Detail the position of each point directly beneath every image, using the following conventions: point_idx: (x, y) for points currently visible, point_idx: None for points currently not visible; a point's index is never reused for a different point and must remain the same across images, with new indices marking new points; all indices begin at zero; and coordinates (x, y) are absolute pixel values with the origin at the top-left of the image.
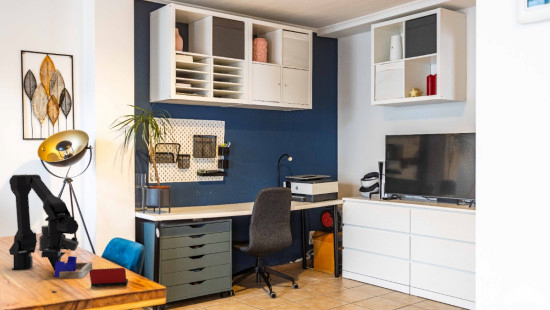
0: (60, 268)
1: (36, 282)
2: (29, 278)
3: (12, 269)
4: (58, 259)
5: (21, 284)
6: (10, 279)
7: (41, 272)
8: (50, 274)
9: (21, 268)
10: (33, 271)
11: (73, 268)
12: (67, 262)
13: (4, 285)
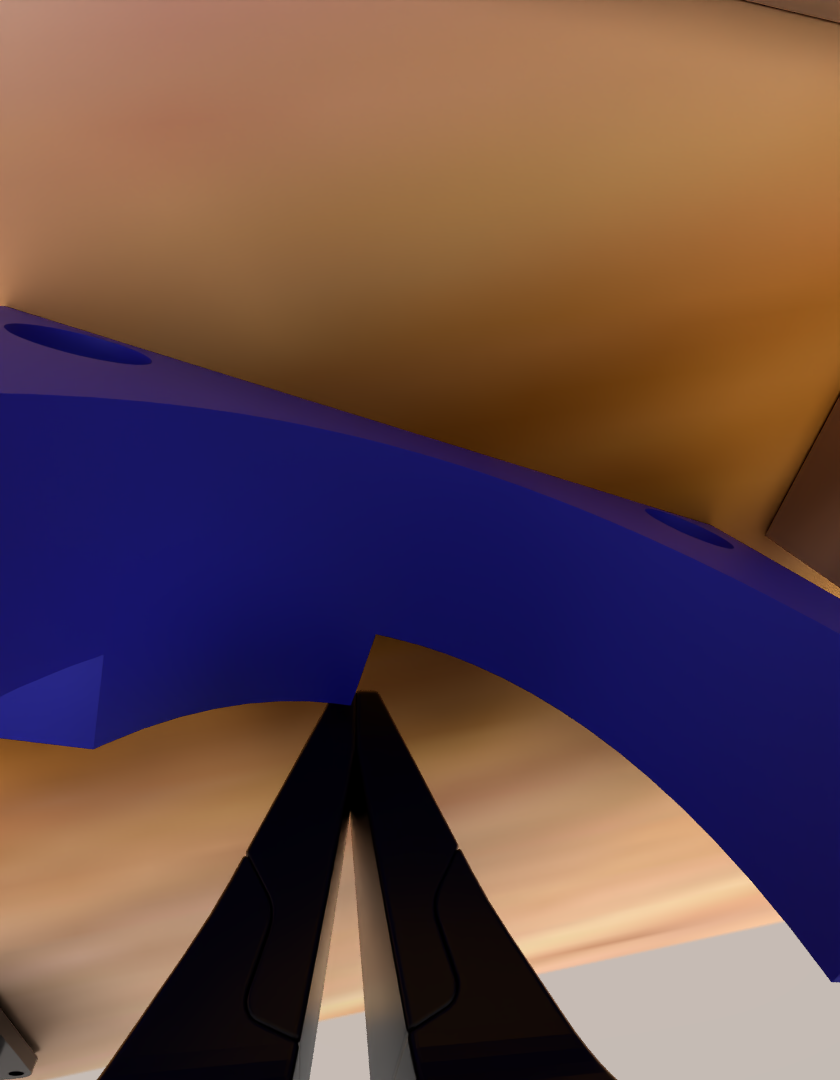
0: None
1: None
2: (547, 861)
3: (34, 1061)
4: (565, 1025)
5: None
6: None
7: (177, 849)
8: None
9: (5, 1038)
10: (103, 924)
11: (133, 367)
12: (10, 673)
13: (767, 924)
